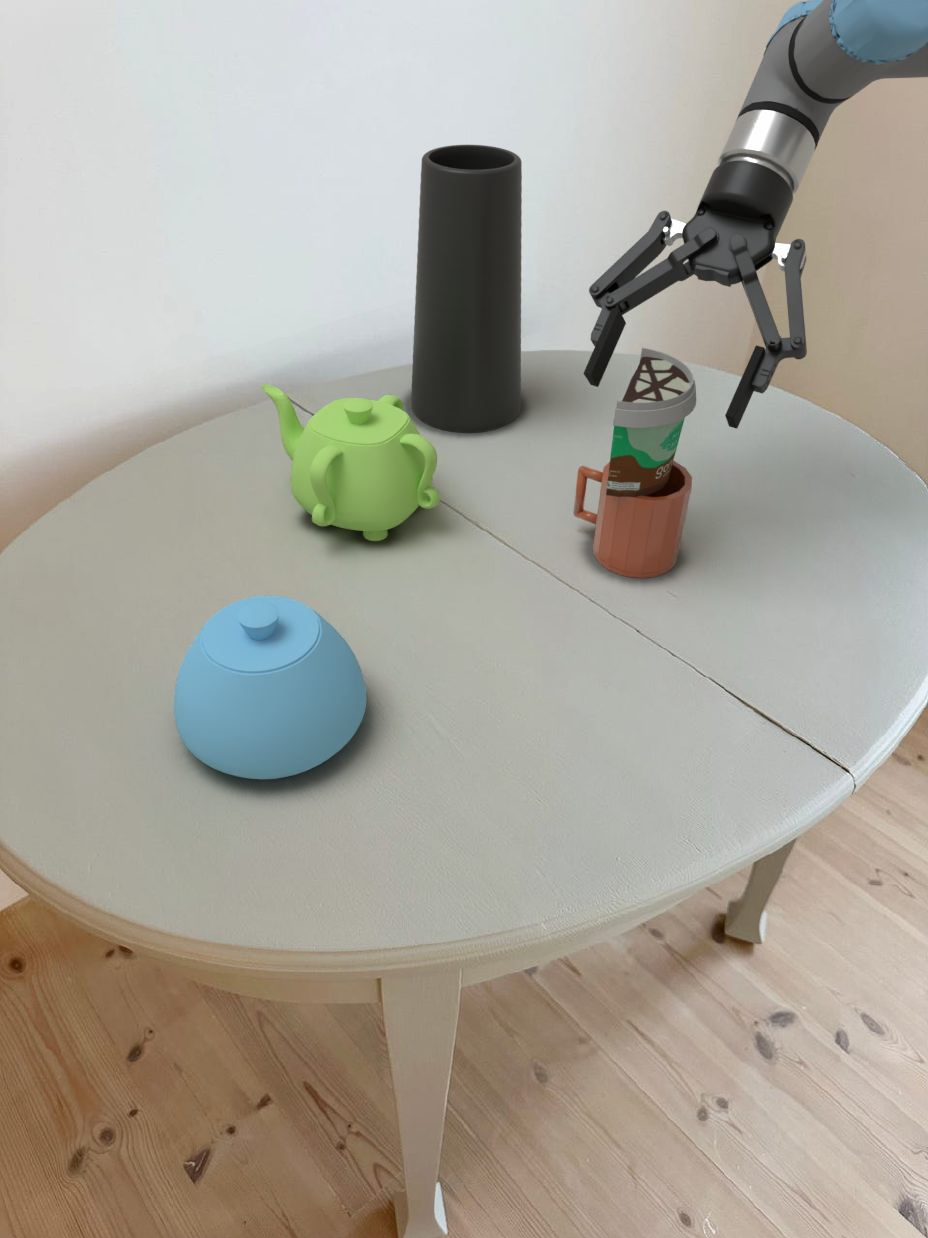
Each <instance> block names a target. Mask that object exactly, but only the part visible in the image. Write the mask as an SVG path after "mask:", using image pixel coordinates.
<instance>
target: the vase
mask: <svg viewBox="0 0 928 1238" xmlns="http://www.w3.org/2000/svg"><path fill="white" fill-rule="evenodd" d="M522 164H523V163H522V159H521V157H520V155H518V154H517V153H515V152H513V151H511V150H509V149H505V148H502V147H497V146H493V145H492V146H491V145H483V144H454V145H452V144H451V145H446V146H440V147H436V148H433V149H431V150H429V151H427V152H425V153H424V154H423V156H422V157H421V166H420V167H421V168H420V185H419V207H418V231H417V251H416V252H417V253H416V258H417V259H416V276H415V295H414V297H415V299H414V300H415V301H414V302H415V303H414V304H415V305H414V318H413V319H414V325H413V346H412V364H411V365H412V366H411V367H412V369H411V371H412V372H411V373H412V374H411V395H410V405H411V410H412V413H413V415H414V416H415V417H416V418H417V419H418V420H420V421H421V422H423V423H424V424H426V425H428V426H431V427H433V428H436V429H439V430H443V431H448V432H454V433H455V432H456V433H481V432H488V431H492V430H497V429H499V428H502V427H504V426H507V425H508V424H510V423H512V422H513V421H514V420H515V419H516V418H517V417H518V416H519V414H520V412H521V401H522V399H521V398H522V397H521V394H522V393H521V392H522V388H521V387H522V382H521V381H522V226H523V224H522V222H523V221H522V213H523V211H522V210H523V209H522V202H523V201H522V200H523V198H522V194H523V193H522V192H523V191H522V190H523V187H522V183H523V182H522V181H523V180H522V179H523V175H522V173H523V172H522V171H523V170H522V167H523V166H522Z"/></svg>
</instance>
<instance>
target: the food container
mask: <svg viewBox="0 0 928 1238" xmlns="http://www.w3.org/2000/svg"><path fill="white" fill-rule="evenodd" d="M624 393H625V394H624V395H623V398H622V400H617V401H616V406H615V411H614V417H613V424H612V426H613V432H612V440H611V449H610V456H609V462H610V465H609V474H608V482H607V491H606V495H608V496H615V497H637V496H643V495H648V494H651V493H653V492H655V491H658V490H660V489H661V488H662V487H663V486H664V485H665V484H666V483H667V481H668V479H669V475H670V471H671V467H672V464H673V461H675V455H676V452H677V448H678V445H679V441H680V438H681V434H682V430H683V426H684V423H685V418H686V417H688V416H689V415H691V414H692V412H693V411H694V409H696V405H697V386H696V381H695V379H694V374H693V372H692V370H691V368H689V367H688V365H687V364H685V363H684V362H683V361H681V360H680V359H678V358H676V357H674V356H672V355H670V354H668V353H665V352H662V351H659V350H655V349H651V348H646V347H641V352H640V358H639V363H638V366H637V368H636V370H635V372H634V373H633V374H632V376H631V379H630V381H629V384H628V386H627V389H626V391H625V392H624Z"/></svg>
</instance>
